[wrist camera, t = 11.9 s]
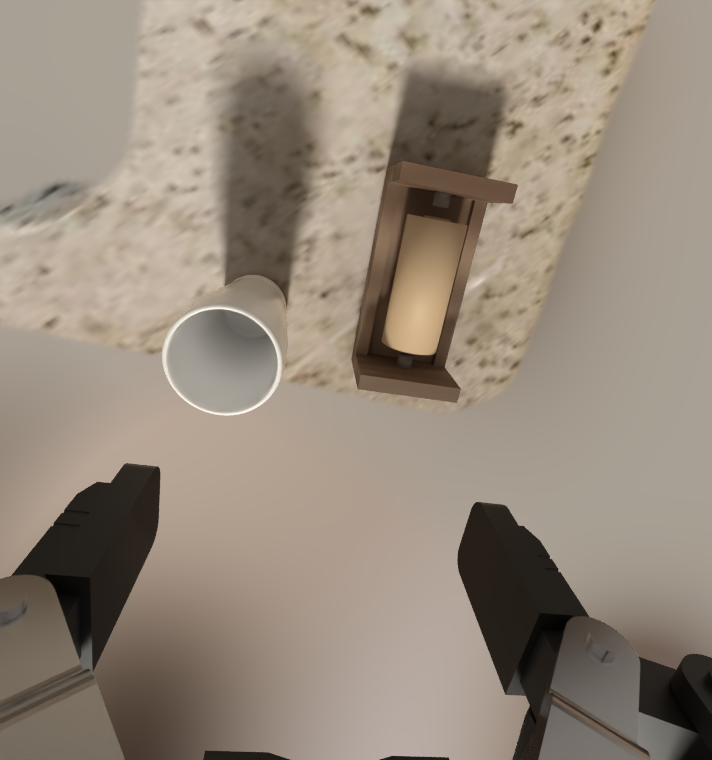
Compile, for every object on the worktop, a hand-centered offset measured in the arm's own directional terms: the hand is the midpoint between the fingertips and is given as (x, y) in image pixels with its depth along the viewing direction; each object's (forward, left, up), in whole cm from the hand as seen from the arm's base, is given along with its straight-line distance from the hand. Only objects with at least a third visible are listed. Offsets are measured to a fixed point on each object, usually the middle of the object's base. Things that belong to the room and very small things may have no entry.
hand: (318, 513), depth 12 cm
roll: (-2, +8, -29) cm, 30 cm away
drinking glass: (+2, -5, -30) cm, 31 cm away
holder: (-2, +8, -30) cm, 31 cm away
